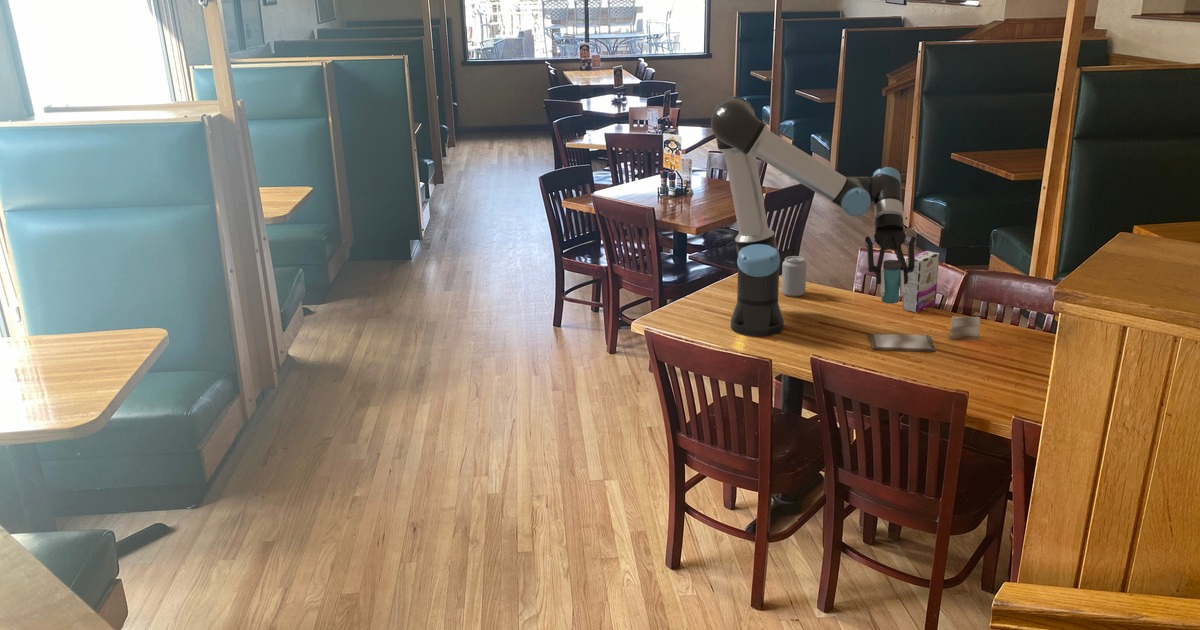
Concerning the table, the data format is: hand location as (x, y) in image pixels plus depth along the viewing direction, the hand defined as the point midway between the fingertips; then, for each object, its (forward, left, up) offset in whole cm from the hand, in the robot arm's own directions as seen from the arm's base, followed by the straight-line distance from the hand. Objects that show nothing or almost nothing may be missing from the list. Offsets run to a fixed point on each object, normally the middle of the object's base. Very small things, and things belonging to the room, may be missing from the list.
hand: (892, 294), depth 232 cm
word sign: (+20, +6, -14) cm, 26 cm away
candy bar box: (+12, +32, -15) cm, 37 cm away
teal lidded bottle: (0, +4, -3) cm, 5 cm away
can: (-25, +42, -15) cm, 51 cm away
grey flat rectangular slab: (+3, +1, -14) cm, 15 cm away
